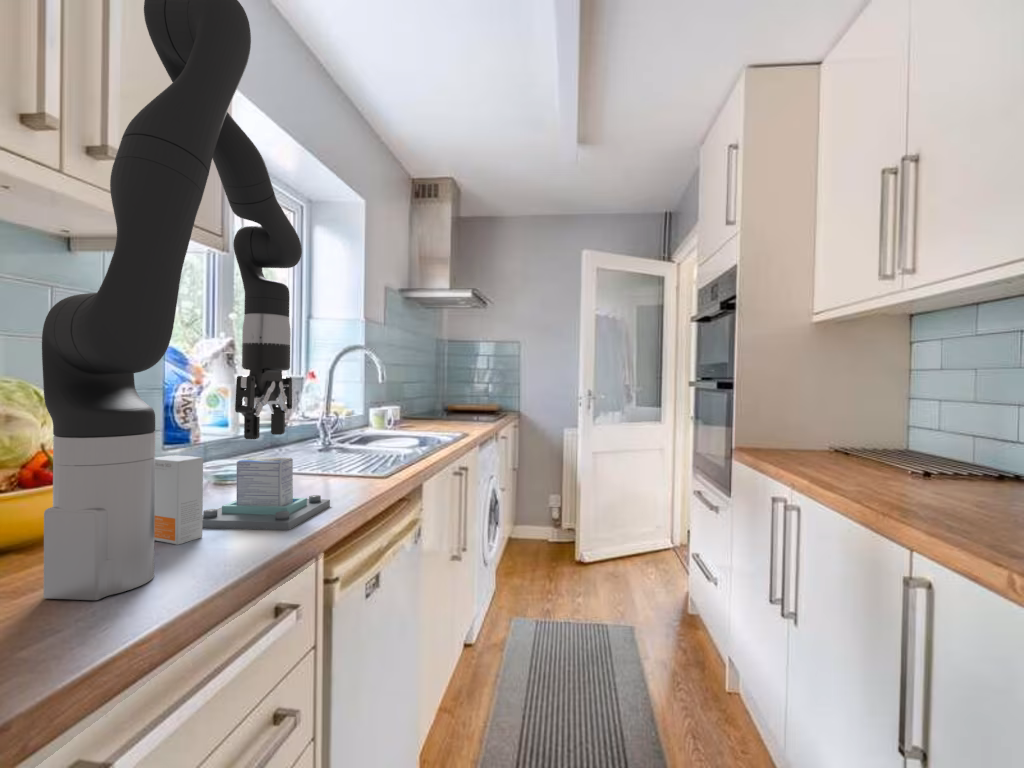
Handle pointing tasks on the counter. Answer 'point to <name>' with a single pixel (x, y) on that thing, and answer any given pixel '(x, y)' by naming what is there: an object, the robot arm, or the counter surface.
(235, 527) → the baseplate
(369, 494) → the counter surface
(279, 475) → the medicine box
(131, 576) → the robot arm
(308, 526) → the counter surface
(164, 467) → the skincare box
